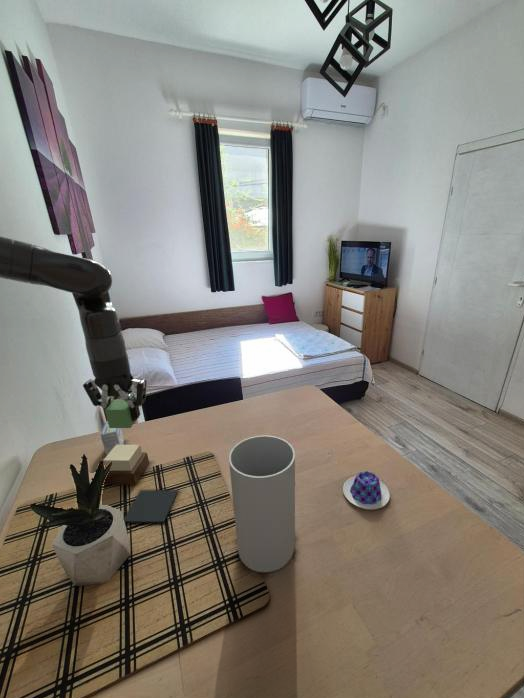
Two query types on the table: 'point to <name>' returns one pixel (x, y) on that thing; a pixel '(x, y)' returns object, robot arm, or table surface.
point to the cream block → (123, 457)
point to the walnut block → (128, 473)
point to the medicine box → (111, 437)
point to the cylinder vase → (264, 501)
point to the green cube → (119, 415)
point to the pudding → (366, 491)
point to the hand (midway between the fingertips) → (123, 419)
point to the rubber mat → (151, 507)
